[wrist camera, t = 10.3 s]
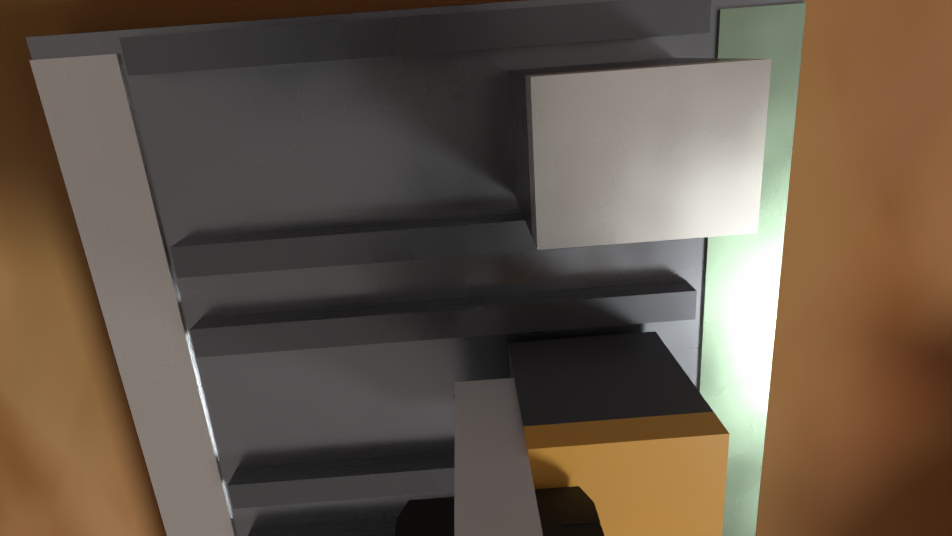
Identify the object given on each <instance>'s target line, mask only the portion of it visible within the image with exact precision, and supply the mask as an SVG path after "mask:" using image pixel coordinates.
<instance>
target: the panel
mask: <svg viewBox="0 0 952 536" xmlns="http://www.w3.org/2000/svg"><path fill="white" fill-rule="evenodd" d="M805 11H806V3H804V0H526V1H512V2H498V3H485V4H471V5H457V6H444V7H430V8H417V9H403V10H389V11H376V12H362V13H349V14H335V15H321V16H308V17H294V18H280V19H267V20H253V21H240V22H226V23H212V24H199V25H185V26H172V27H158V28H144V29H131V30H117V31H103V32H90V33H76V34H63V35H49V36H35V37H26V41H27V44H28V48H29V51H30V55H31V58H32V60H29V61H30V64H31V68H32V71H33V75H34V78H35V82H36V85H37V89H38V92H39V96H40V99H41V102H42V106H43V109H44V113H45V116H46V120H47V123H48V127H49V130H50V134H51V137H52V140H53V144H54V147H55V151H56V154H57V158H58V161H59V165H60V168H61V172H62V175H63V178H64V182H65V185H66V189H67V192H68V196H69V199H70V203H71V206H72V210H73V213H74V216H75V220H76V223H77V227H78V230H79V234H80V237H81V241H82V244H83V248H84V251H85V254H86V258H87V261H88V265H89V268H90V272H91V275H92V279H93V282H94V286H95V289H96V292H97V296H98V299H99V303H100V306H101V310H102V313H103V317H104V320H105V324H106V327H107V330H108V334H109V337H110V341H111V344H112V348H113V351H114V355H115V358H116V362H117V365H118V368H119V372H120V375H121V379H122V382H123V386H124V389H125V393H126V396H127V400H128V403H129V406H130V410H131V413H132V417H133V420H134V424H135V427H136V431H137V434H138V438H139V441H140V444H141V448H142V451H143V455H144V458H145V462H146V465H147V469H148V472H149V476H150V479H151V482H152V486H153V489H154V493H155V496H156V500H157V503H158V507H159V510H160V514H161V517H162V520H163V524H164V527H165V531H166V534H167V536H394V535H395V527H396V519H397V517H398V516H399V514H400V513H401V511H402V510H403V508H404V507H405V505H406V504H407V502H408V501H409V500H418V499H431V498H445V497H454V471H455V382H463V381H477V380H491V379H505V378H510V364H509V347H508V343H510V342H523V341H536V340H549V339H562V338H575V337H588V336H601V335H614V334H627V333H640V332H653V331H656V333H657V334H658V335H659V337H660V338H661V340H662V341H663V342H664V344H665V345H666V346H667V348H668V349H669V351H670V352H671V353H672V355H673V356H674V358H675V359H676V360H677V362H678V363H679V364H680V366H681V367H682V369H683V370H684V371H685V373H686V374H687V375H688V377H689V378H690V380H691V381H692V382H693V384H694V385H695V387H696V388H697V389H698V391H699V392H700V393H701V395H702V396H703V398H704V399H705V400H706V402H707V403H708V404H709V406H710V407H711V409H712V410H713V411H714V413H715V414H716V415H717V417H718V418H719V420H720V421H721V422H722V424H723V425H724V427H725V428H726V429H727V431H728V432H729V433H730V436H729V449H728V463H727V476H726V490H725V503H724V516H723V530H722V536H755V532H756V521H757V511H758V501H759V490H760V480H761V469H762V459H763V448H764V438H765V428H766V417H767V407H768V396H769V386H770V376H771V365H772V355H773V344H774V334H775V323H776V313H777V303H778V292H779V282H780V271H781V261H782V250H783V240H784V230H785V219H786V209H787V198H788V188H789V178H790V167H791V157H792V146H793V136H794V125H795V115H796V105H797V94H798V84H799V73H800V63H801V52H802V42H803V32H804V21H805Z"/></svg>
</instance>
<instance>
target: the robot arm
mask: <svg viewBox="0 0 952 536" xmlns="http://www.w3.org/2000/svg"><path fill="white" fill-rule="evenodd" d="M394 536H604V533H603V529H602V526H601V524H600V520H599V516H598V513H597V510H596V507H595V504H594V502H593V501H592V500H591V499H590V497H589V496H588V495H587V494H586V493H585V492H584V491H583V490H582V489H581V488H580V487H579V486H572V487H559V488H545V489H534V484H533V478H532V473H531V467H530V462H529V457H528V454H527V448H526V443H525V437H524V431H523V426H522V420H521V415H520V409H519V404H518V398H517V393H516V387H515V381H514V378H505V379H491V380H477V381H463V382H455V471H454V497H445V498H431V499H418V500H409V501H408V502H407V504H406V505H405V507H404V508H403V510H402V511H401V513H400V514H399V516H398V517H397V519H396V527H395V535H394Z"/></svg>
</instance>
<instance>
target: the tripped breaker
mask: <svg viewBox="0 0 952 536" xmlns="http://www.w3.org/2000/svg"><path fill="white" fill-rule="evenodd" d="M508 347H509V364H510V378H514V381H515V387H516V393H517V398H518V404H519V409H520V415H521V420H522V426H523V431H524V437H525V443H526V448H527V454H528V457H529V462H530V467H531V473H532V478H533V484H534V489H545V488H559V487H572V486H579V487H580V488H581V489H582V490H583V491H584V492H585V493H586V494H587V495H588V496H589V497H590V499H591V500H592V501H593V502H594V504H595V507H596V510H597V513H598V516H599V520H600V524H601V526H602V529H603V533H604V536H722V530H723V516H724V503H725V490H726V476H727V463H728V449H729V436H730V433H729V432H728V431H727V429H726V428H725V427H724V425H723V424H722V422H721V421H720V420H719V418H718V417H717V415H716V414H715V413H714V411H713V410H712V409H711V407H710V406H709V404H708V403H707V402H706V400H705V399H704V398H703V396H702V395H701V393H700V392H699V391H698V389H697V388H696V387H695V385H694V384H693V382H692V381H691V380H690V378H689V377H688V375H687V374H686V373H685V371H684V370H683V369H682V367H681V366H680V364H679V363H678V362H677V360H676V359H675V358H674V356H673V355H672V353H671V352H670V351H669V349H668V348H667V346H666V345H665V344H664V342H663V341H662V340H661V338H660V337H659V335H658V334H657V333H656V331H653V332H640V333H627V334H614V335H601V336H588V337H575V338H562V339H549V340H536V341H523V342H510V343H508Z"/></svg>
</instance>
